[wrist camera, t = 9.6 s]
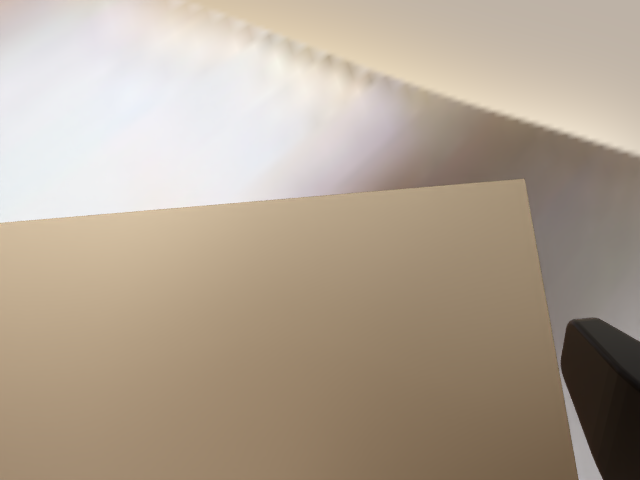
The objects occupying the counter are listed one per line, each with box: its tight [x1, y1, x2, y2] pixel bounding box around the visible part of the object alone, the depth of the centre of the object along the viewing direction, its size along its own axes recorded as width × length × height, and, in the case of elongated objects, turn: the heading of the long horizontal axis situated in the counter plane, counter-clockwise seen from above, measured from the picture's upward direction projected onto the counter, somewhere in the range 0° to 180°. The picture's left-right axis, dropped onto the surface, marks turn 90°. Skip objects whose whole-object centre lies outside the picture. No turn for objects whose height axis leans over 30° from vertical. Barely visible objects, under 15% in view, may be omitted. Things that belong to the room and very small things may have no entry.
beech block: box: [0, 179, 579, 480], centre depth 10 cm, size 5×5×13 cm
